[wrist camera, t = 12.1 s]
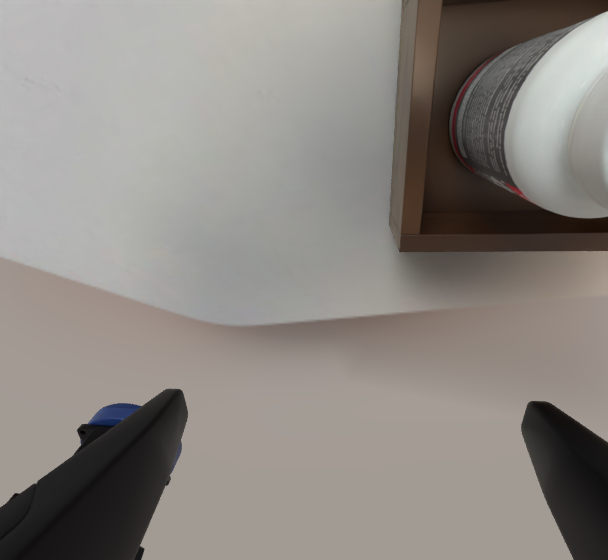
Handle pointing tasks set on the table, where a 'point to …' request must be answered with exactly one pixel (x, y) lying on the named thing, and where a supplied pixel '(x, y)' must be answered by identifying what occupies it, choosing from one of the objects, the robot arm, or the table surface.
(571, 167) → the pill bottle
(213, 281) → the table surface
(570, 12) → the holder
